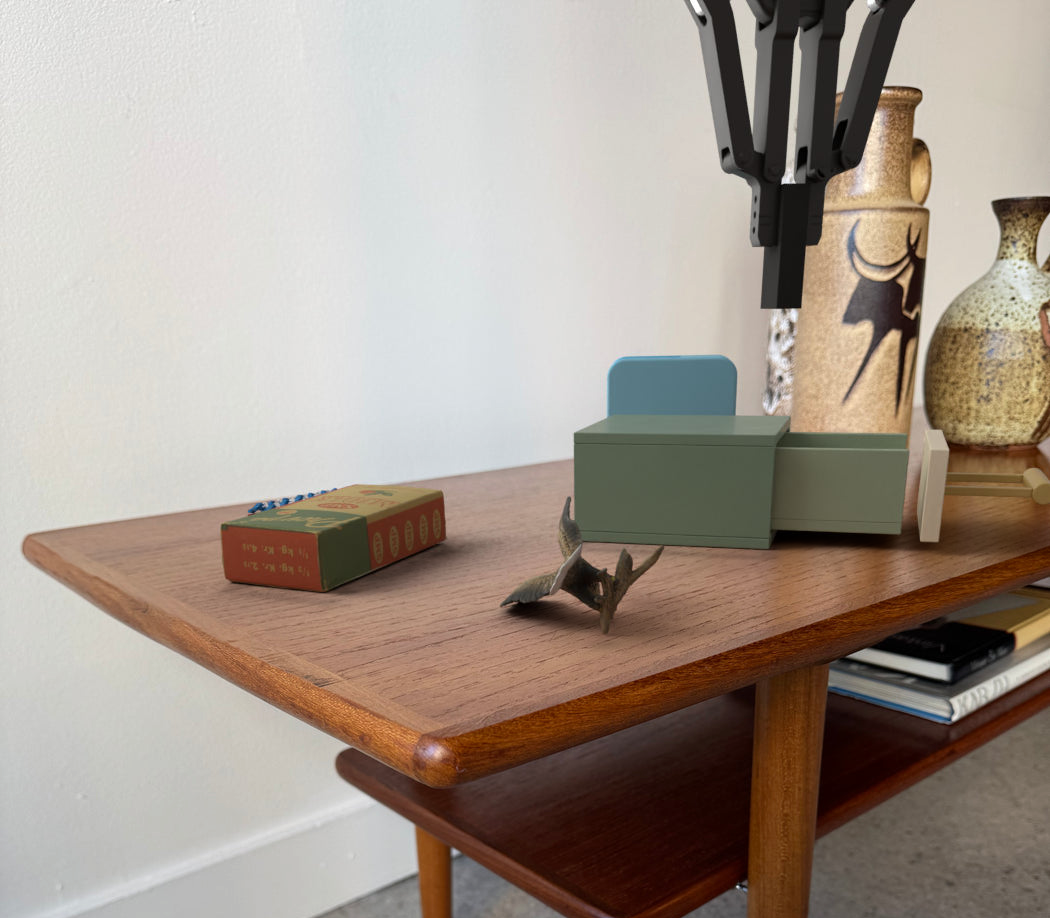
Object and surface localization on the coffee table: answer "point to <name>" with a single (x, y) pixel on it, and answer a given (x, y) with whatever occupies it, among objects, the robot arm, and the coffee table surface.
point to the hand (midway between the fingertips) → (780, 308)
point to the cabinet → (677, 479)
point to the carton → (332, 536)
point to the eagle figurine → (583, 575)
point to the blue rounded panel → (672, 385)
